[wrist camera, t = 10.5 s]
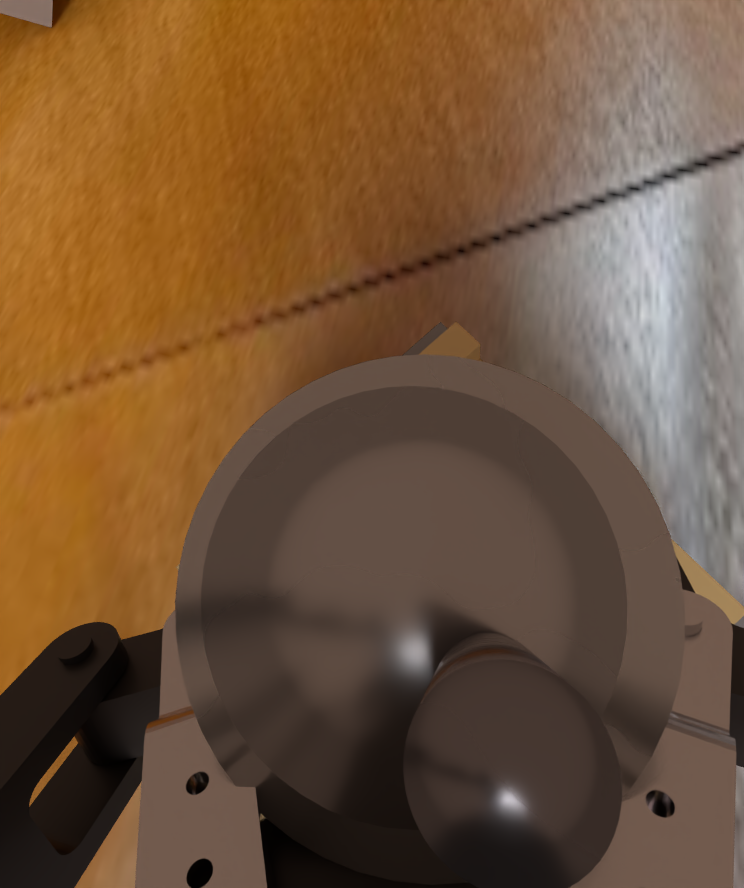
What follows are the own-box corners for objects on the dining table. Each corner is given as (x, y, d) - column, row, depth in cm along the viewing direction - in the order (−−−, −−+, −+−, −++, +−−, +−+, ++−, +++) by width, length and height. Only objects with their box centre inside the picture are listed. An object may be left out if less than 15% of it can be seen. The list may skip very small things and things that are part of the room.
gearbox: (256, 559, 26) (123, 537, 16) (448, 390, 27) (434, 267, 17) (520, 909, 21) (564, 1193, 11) (750, 690, 22) (991, 771, 12)
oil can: (318, 585, 17) (-238, 530, 4) (453, 465, 18) (397, 6, 4) (442, 742, 16) (251, 1705, 2) (588, 606, 16) (1292, 644, 2)
